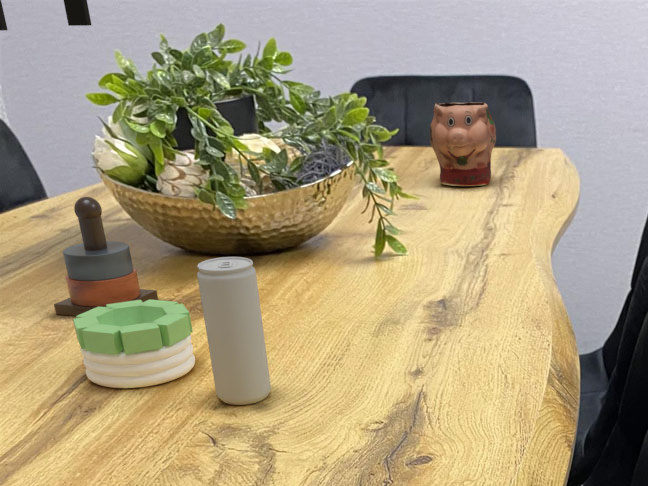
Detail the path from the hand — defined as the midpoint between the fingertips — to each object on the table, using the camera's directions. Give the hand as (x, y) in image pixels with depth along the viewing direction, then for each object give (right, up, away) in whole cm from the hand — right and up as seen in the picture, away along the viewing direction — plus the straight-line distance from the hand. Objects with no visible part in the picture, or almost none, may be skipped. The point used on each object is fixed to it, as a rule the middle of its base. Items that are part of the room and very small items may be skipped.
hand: (39, 28), depth 109 cm
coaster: (+18, -41, -16) cm, 48 cm away
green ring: (+18, -38, -18) cm, 46 cm away
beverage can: (+29, -44, -23) cm, 58 cm away
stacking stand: (+7, -31, +2) cm, 32 cm away
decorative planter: (+45, +6, +71) cm, 85 cm away
